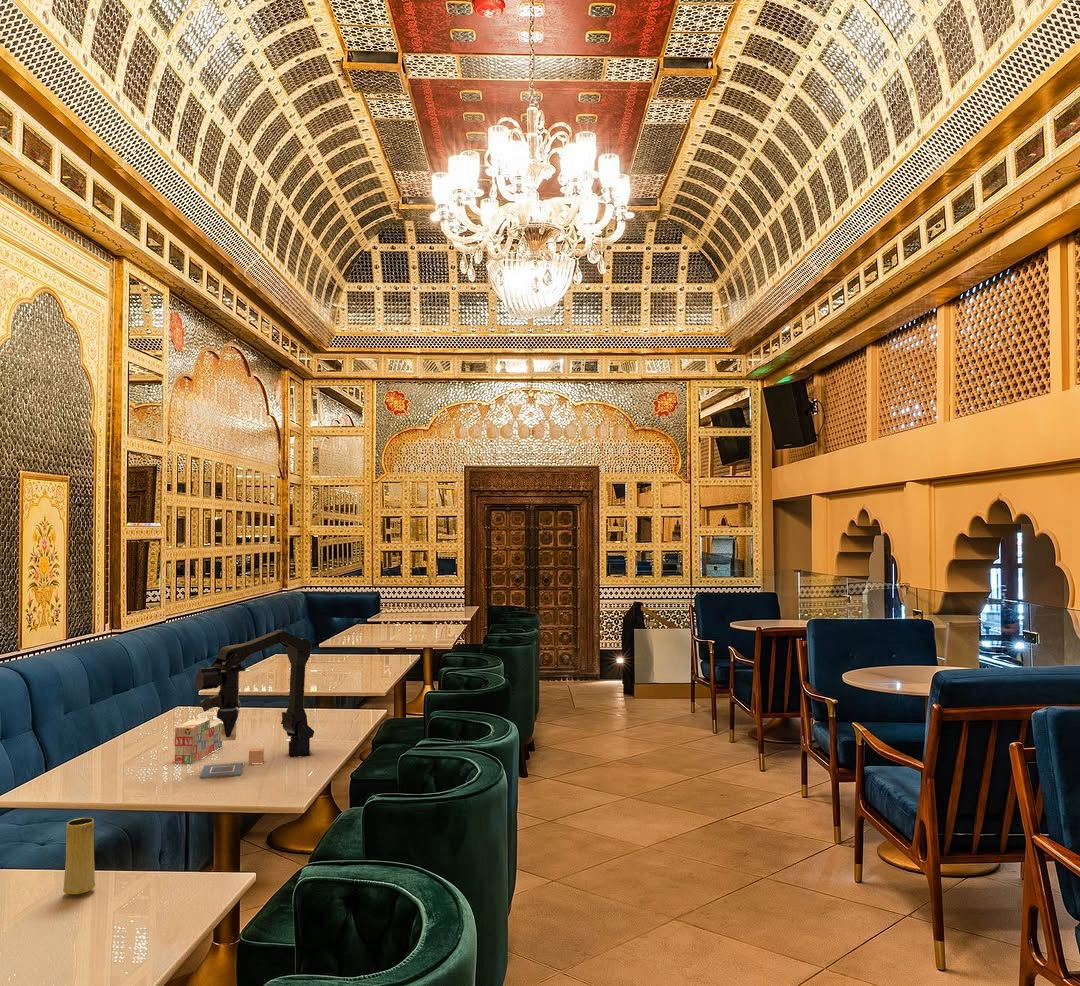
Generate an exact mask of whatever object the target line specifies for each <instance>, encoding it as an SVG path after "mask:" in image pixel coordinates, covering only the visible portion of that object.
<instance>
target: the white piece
mask: <svg viewBox="0 0 1080 986" xmlns="http://www.w3.org/2000/svg"><path fill="white" fill-rule="evenodd" d="M209 716H214V717H213V721H212V722H222V721H221V720H220V719H218V718H217V711H205V712H204V711H202V712H201V713H199V714H197V717H196V719H209V718H208V717H209ZM222 724H223V722H222Z"/></svg>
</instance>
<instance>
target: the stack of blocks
mask: <svg viewBox="0 0 1080 986" xmlns="http://www.w3.org/2000/svg"><path fill="white" fill-rule="evenodd" d="M221 724H222V722H213V721H211V719H209V718H208V719H197V718H193V719H190V720H188V721H187V722H184V723H182V724H180V725H177V726H175V727H174V764H175V765H193V764H195V763H197V762H199V761H201V760H202V759H201V758H203V757H205V756H206V755H208V754H209V753H211V752H212V751H215V750H217V749H218V748H220V747H222V748H223V741H220V739H221ZM217 751H218V750H217ZM208 756H209V755H208ZM206 757H207V756H206ZM206 757H205V758H206ZM200 759H201V760H200ZM203 759H204V758H203ZM198 760H199V761H198ZM196 761H197V762H196Z"/></svg>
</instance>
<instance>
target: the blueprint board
mask: <svg viewBox="0 0 1080 986" xmlns="http://www.w3.org/2000/svg"><path fill="white" fill-rule="evenodd" d="M243 763H244V762H234V763H221V764H220V763H218V764H207V765H206V764H205V765H204V766H203V768H202V771H201V773H200V776H199V780H200V779H201V780H204V779H216V778H215V777H217V778H228V776H231V777H240V775H241V776H242V773H243V769H242V768H244V764H243ZM241 772H242V773H241Z"/></svg>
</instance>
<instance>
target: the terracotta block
mask: <svg viewBox="0 0 1080 986" xmlns="http://www.w3.org/2000/svg"><path fill="white" fill-rule="evenodd" d="M264 752H265V747H250V748H249V750H248V765H249V764H252V763H263V764H264V762H263V761H265V755H264V754H265V753H264Z"/></svg>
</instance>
